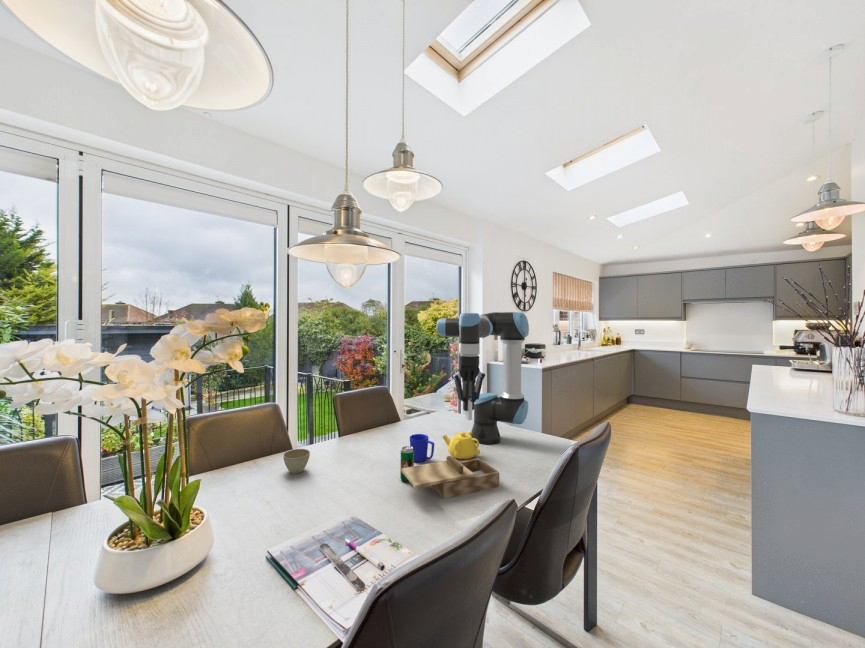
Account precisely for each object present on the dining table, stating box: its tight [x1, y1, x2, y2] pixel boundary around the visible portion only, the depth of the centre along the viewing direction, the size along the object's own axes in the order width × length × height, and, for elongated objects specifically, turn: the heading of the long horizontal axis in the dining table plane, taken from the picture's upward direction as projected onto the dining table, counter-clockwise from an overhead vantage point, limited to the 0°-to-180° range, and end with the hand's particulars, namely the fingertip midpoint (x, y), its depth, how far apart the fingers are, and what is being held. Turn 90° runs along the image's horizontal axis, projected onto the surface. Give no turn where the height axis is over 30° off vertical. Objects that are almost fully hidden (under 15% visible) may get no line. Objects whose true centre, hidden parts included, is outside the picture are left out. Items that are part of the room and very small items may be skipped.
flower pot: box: [282, 448, 311, 475], centre depth 141 cm, size 10×10×7 cm
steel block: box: [473, 470, 485, 476], centre depth 132 cm, size 5×3×3 cm, turn 114°
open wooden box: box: [431, 458, 500, 500], centre depth 129 cm, size 22×14×6 cm, turn 114°
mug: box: [409, 433, 435, 463], centre depth 152 cm, size 8×12×10 cm
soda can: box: [399, 445, 415, 483], centre depth 134 cm, size 5×5×12 cm
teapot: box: [442, 431, 481, 461], centre depth 157 cm, size 14×14×11 cm
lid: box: [400, 455, 474, 489], centre depth 125 cm, size 22×14×3 cm, turn 114°
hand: (468, 419), depth 130 cm, fingers closed
